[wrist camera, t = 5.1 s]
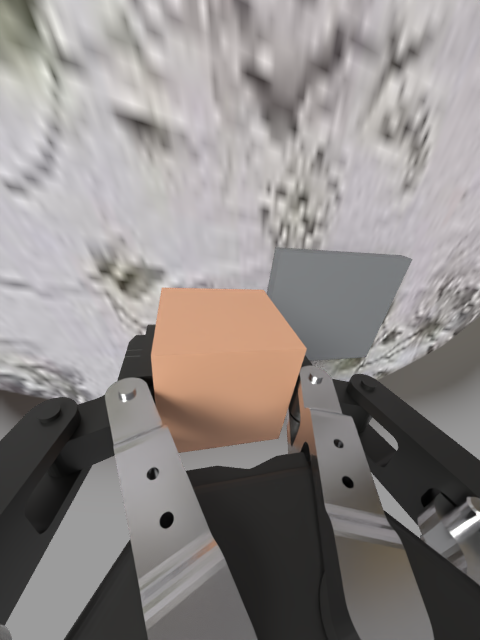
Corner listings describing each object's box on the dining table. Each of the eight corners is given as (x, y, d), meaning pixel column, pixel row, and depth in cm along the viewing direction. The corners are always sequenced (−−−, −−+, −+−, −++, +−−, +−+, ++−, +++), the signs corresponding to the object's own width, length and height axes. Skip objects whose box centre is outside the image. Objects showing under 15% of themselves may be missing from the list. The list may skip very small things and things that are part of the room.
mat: (401, 255, 28) (412, 259, 27) (358, 350, 35) (365, 356, 33) (275, 247, 24) (280, 251, 23) (255, 356, 31) (258, 364, 29)
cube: (263, 289, 12) (307, 348, 8) (250, 364, 15) (278, 438, 10) (161, 287, 11) (150, 356, 7) (166, 368, 13) (160, 455, 9)
